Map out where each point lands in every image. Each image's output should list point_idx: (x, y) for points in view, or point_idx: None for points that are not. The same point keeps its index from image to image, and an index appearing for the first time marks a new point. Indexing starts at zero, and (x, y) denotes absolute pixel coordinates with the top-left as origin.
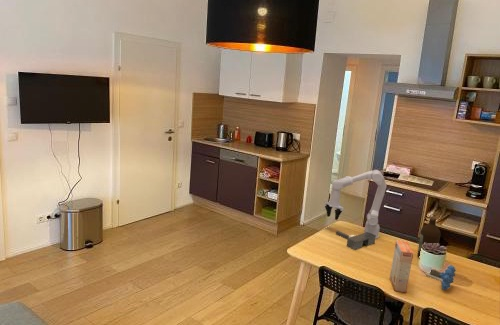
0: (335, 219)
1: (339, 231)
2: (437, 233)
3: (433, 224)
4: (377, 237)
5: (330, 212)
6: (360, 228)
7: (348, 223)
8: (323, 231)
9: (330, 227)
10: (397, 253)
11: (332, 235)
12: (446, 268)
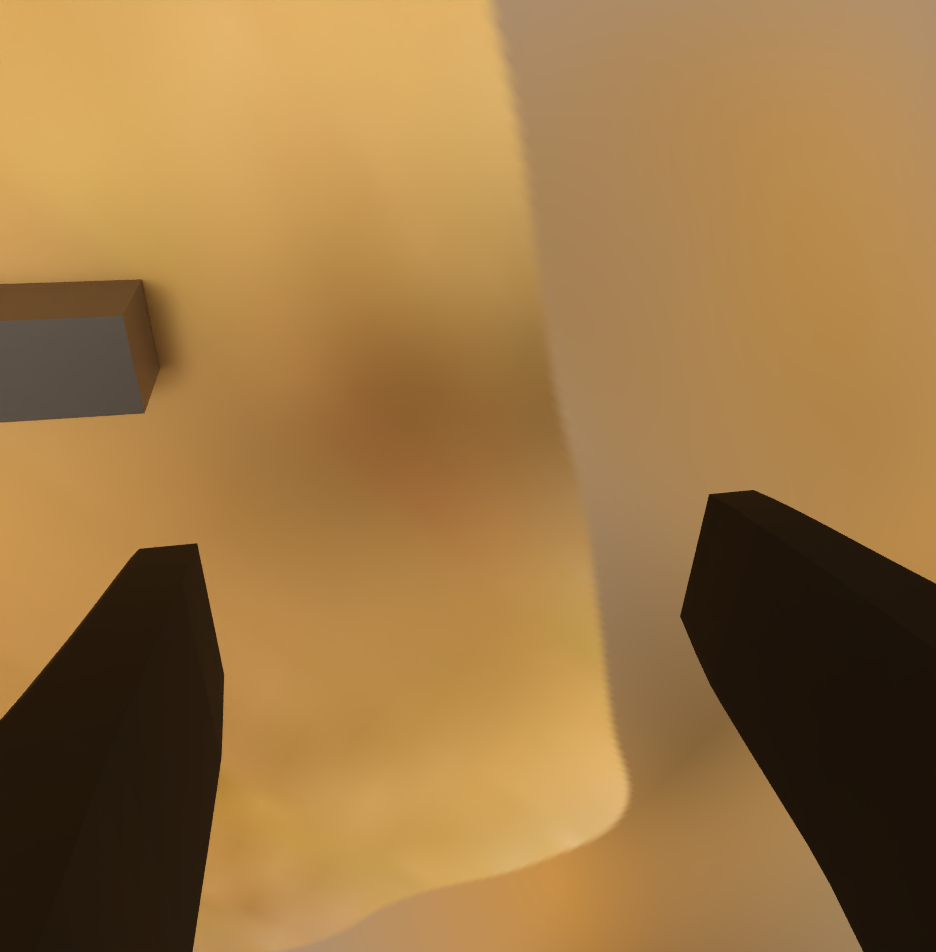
0: (153, 554)
1: (65, 404)
2: None
3: None
4: None
5: (790, 784)
6: (232, 919)
7: (499, 870)
8: (489, 81)
9: (566, 491)
10: None
11: (86, 89)
12: None
